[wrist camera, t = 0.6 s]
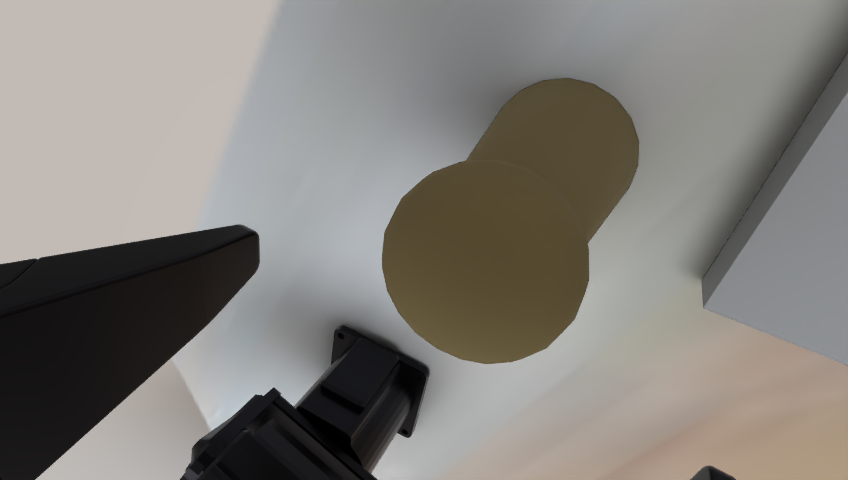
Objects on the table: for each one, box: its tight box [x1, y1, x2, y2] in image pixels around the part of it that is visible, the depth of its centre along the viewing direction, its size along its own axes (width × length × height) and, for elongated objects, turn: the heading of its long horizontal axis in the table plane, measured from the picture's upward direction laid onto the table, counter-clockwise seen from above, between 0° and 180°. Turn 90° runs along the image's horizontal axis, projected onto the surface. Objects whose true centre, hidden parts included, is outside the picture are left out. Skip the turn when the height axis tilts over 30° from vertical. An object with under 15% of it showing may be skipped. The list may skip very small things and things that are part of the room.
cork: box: [382, 78, 639, 364], centre depth 15 cm, size 6×6×11 cm
